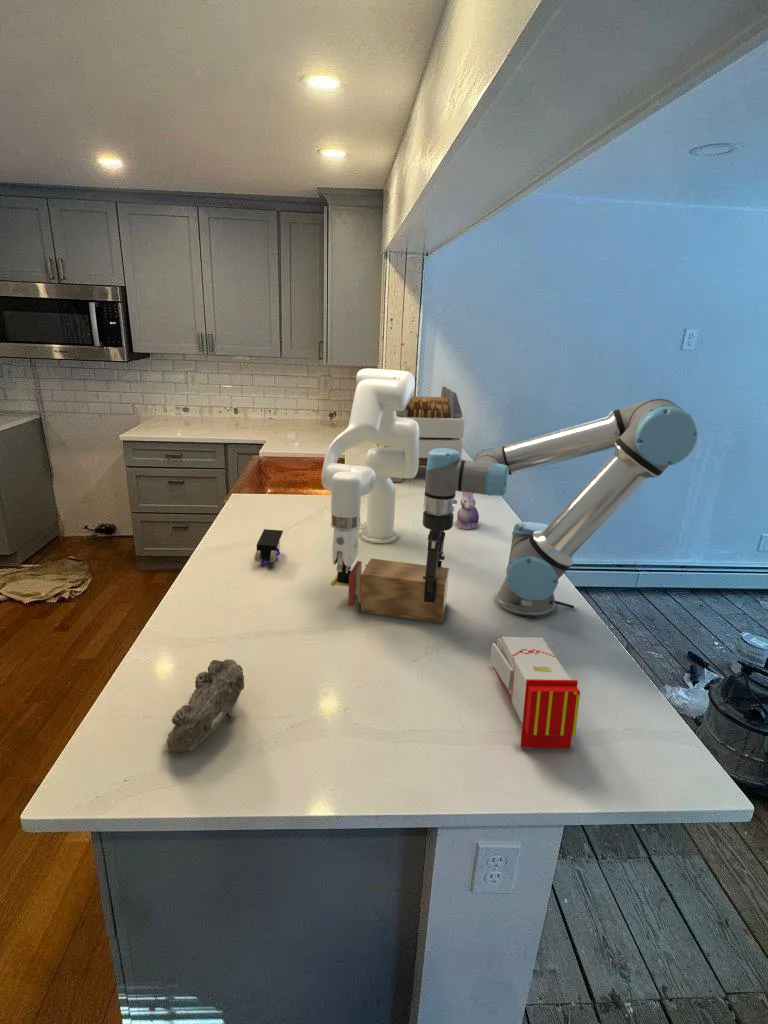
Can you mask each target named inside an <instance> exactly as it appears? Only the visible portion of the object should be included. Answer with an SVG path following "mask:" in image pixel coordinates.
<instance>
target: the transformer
mask: <svg viewBox="0 0 768 1024" xmlns="http://www.w3.org/2000/svg"><path fill="white" fill-rule="evenodd" d="M440 393H441V394H440V396H415V395H414V396H413V395H412V397H411V399H410V401H409V402H408V404H407V406H406V408H405V409H404V410H403V411H400V412H397V411H396V416H397V417H398V418H409V419H413V420H415V421H416V422H417V423H418V426H419V466H418V467H427V460H428V453H429V452H430V451H431V450H433V449H436V448H448V449H453V450H456V451H457V452H458V453H459V457H460V460H463V459H462V453H463V442H464V441H463V440H462V439H463V438H464V431H465V430H464V429H465V419H464V418H463V411H462V408H461V405H460V402H459V398H458V395H457V392H455V391H453V390H452V389H451V388H447V386H442V387H441V392H440ZM383 447H386V446H383ZM388 448H396V447H388ZM397 449H402V448H397ZM390 479H391V480H392V482H393V483H402V482H403V478H396V477H390Z"/></svg>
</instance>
